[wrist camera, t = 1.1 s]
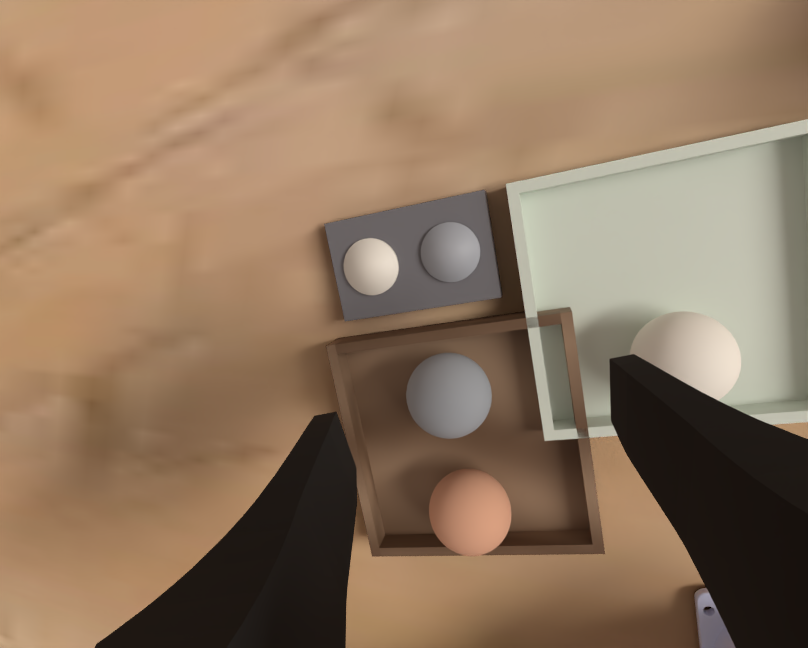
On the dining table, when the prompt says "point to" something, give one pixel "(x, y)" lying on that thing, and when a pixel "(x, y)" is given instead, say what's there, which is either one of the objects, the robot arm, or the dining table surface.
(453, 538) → the terracotta ball
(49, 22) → the dining table surface
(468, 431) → the grey ball
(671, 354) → the cream ball
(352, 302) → the tile
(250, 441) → the dining table surface
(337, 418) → the robot arm
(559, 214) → the sage tray
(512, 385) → the walnut tray
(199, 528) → the dining table surface
